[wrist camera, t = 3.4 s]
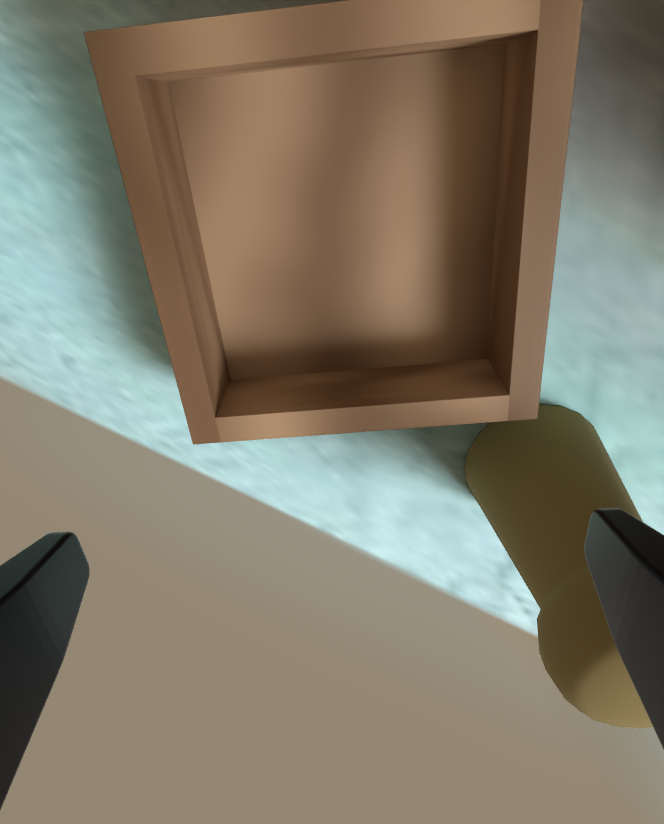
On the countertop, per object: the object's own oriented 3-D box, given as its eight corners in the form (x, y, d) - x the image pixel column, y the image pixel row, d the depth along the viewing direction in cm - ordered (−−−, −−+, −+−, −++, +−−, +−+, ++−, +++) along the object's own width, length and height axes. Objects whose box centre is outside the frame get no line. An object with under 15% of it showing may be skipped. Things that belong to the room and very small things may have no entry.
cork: (630, 445, 23) (834, 676, 14) (536, 533, 26) (652, 779, 16) (526, 379, 22) (673, 588, 12) (437, 480, 24) (500, 717, 15)
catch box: (531, 3, 16) (586, -29, 12) (505, 369, 22) (537, 418, 18) (138, 49, 16) (83, 32, 13) (215, 392, 22) (192, 444, 19)
